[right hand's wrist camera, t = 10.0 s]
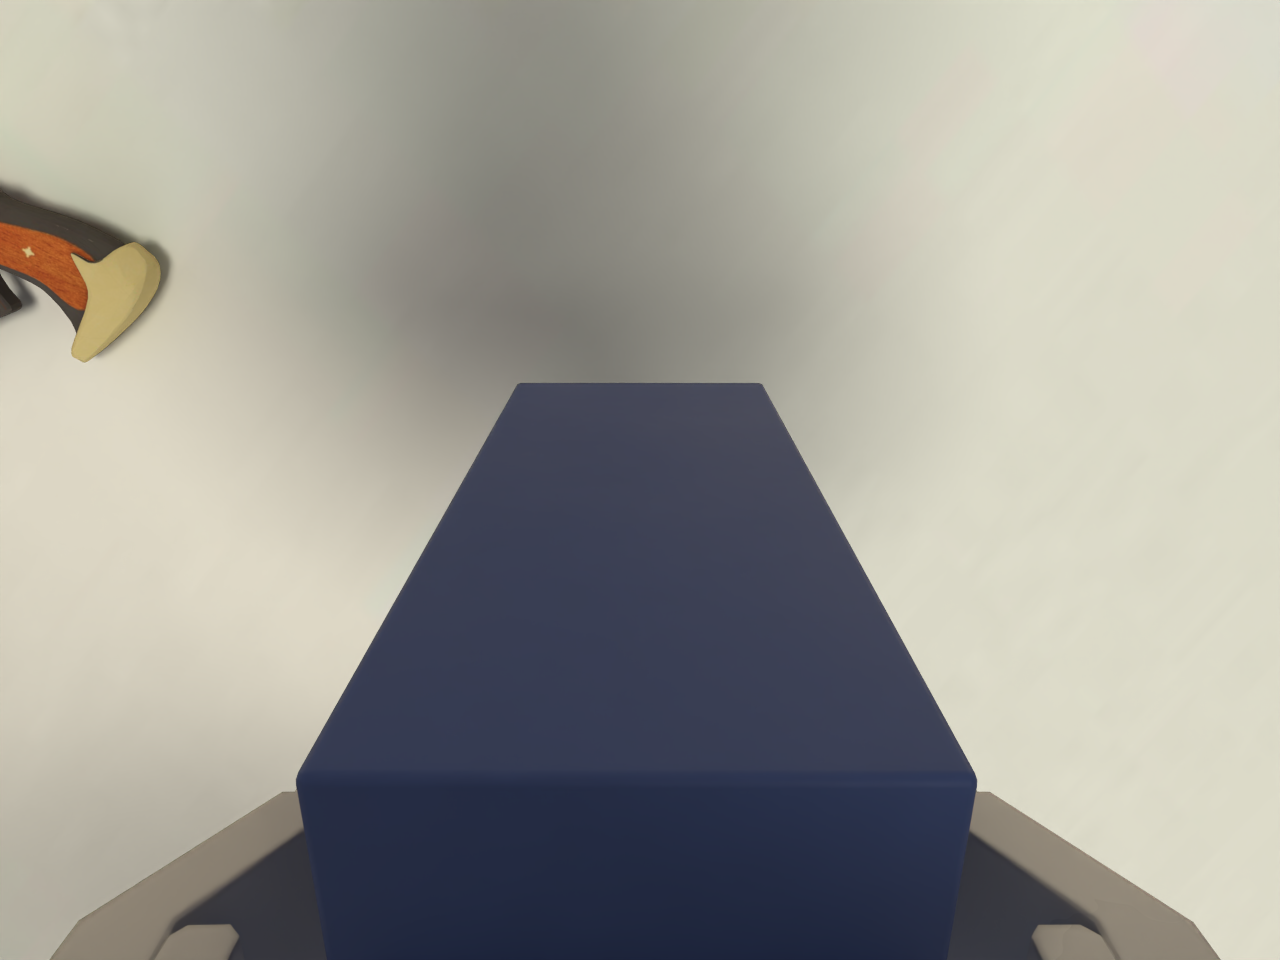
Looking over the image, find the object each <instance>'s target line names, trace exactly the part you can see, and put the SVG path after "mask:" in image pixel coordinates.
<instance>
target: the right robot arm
mask: <svg viewBox="0 0 1280 960" xmlns="http://www.w3.org/2000/svg"><path fill="white" fill-rule="evenodd" d="M50 960H327V957H326V952H325V946H324V940H323V935H322V929H321V923H320V918H319V912H318V906H317V901H316V895H315V889H314V884H313V878H312V872H311V866H310V861H309V855H308V849H307V844H306V838H305V832H304V827H303V821H302V815H301V810H300V804H299V798H298V793H297V789H296V791H295V792H282V793H280V794H278V795H277V796H275V797H274V798H272V799H271V800H269V801H267V802H266V803H264V804H263V805H261V806H259V807H258V808H256V809H255V810H253V811H252V812H250V813H248V814H247V815H245V816H244V817H242V818H240V819H239V820H237V821H236V822H234V823H233V824H231V825H229V826H228V827H226V828H225V829H223V830H222V831H220V832H218V833H217V834H215V835H214V836H212V837H210V838H209V839H207V840H206V841H204V842H203V843H201V844H199V845H198V846H196V847H195V848H193V849H191V850H190V851H188V852H187V853H185V854H184V855H182V856H180V857H179V858H177V859H176V860H174V861H172V862H171V863H169V864H168V865H166V866H165V867H163V868H161V869H160V870H158V871H157V872H155V873H154V874H152V875H150V876H149V877H147V878H146V879H144V880H142V881H141V882H139V883H138V884H136V885H135V886H133V887H131V888H130V889H128V890H127V891H125V892H123V893H122V894H120V895H119V896H117V897H116V898H114V899H112V900H111V901H109V902H108V903H106V904H105V905H103V906H101V907H100V908H98V909H97V910H95V911H93V912H92V913H90V914H89V915H87V916H86V917H84V918H82V919H81V920H79V921H78V922H77V924H76V925H75V926H74V928H73V929H72V930H71V932H70V933H69V935H68V936H67V937H66V939H65V940H64V941H63V943H62V944H61V945H60V947H59V948H58V949H57V951H56V952H55V953H54V955H53V956H52V957H51V959H50ZM947 960H1220V958H1219V957H1218V955H1217V954H1216V953H1215V951H1214V950H1213V949H1212V947H1211V946H1210V944H1209V943H1208V942H1207V940H1206V939H1205V938H1204V936H1203V935H1202V934H1201V932H1200V931H1199V929H1198V928H1197V927H1196V925H1195V924H1194V923H1193V922H1192V921H1191V920H1189V919H1187V918H1186V917H1184V916H1183V915H1181V914H1180V913H1178V912H1176V911H1175V910H1173V909H1172V908H1170V907H1169V906H1167V905H1166V904H1164V903H1162V902H1161V901H1159V900H1158V899H1156V898H1155V897H1153V896H1152V895H1150V894H1148V893H1147V892H1145V891H1144V890H1142V889H1141V888H1139V887H1137V886H1136V885H1134V884H1133V883H1131V882H1130V881H1128V880H1127V879H1125V878H1123V877H1122V876H1120V875H1119V874H1117V873H1116V872H1114V871H1112V870H1111V869H1109V868H1108V867H1106V866H1105V865H1103V864H1102V863H1100V862H1098V861H1097V860H1095V859H1094V858H1092V857H1091V856H1089V855H1087V854H1086V853H1084V852H1083V851H1081V850H1080V849H1078V848H1077V847H1075V846H1073V845H1072V844H1070V843H1069V842H1067V841H1066V840H1064V839H1062V838H1061V837H1059V836H1058V835H1056V834H1055V833H1053V832H1052V831H1050V830H1048V829H1047V828H1045V827H1044V826H1042V825H1041V824H1039V823H1038V822H1036V821H1034V820H1033V819H1031V818H1030V817H1028V816H1027V815H1025V814H1023V813H1022V812H1020V811H1019V810H1017V809H1016V808H1014V807H1013V806H1011V805H1009V804H1008V803H1006V802H1005V801H1003V800H1002V799H1000V798H998V797H997V796H995V795H994V794H992V793H991V792H977V790H976V794H975V800H974V806H973V812H972V817H971V823H970V829H969V835H968V841H967V846H966V852H965V858H964V864H963V869H962V875H961V881H960V887H959V893H958V898H957V904H956V910H955V916H954V922H953V927H952V933H951V939H950V945H949V950H948V956H947Z"/></svg>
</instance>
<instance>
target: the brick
mask: <svg viewBox="0 0 1280 960" xmlns="http://www.w3.org/2000/svg"><path fill="white" fill-rule="evenodd" d="M296 787H297V793H298V798H299V804H300V810H301V815H302V821H303V827H304V832H305V838H306V844H307V849H308V855H309V861H310V866H311V872H312V878H313V884H314V889H315V895H316V901H317V906H318V912H319V918H320V923H321V929H322V935H323V940H324V946H325V952H326V957H327V960H947V956H948V950H949V945H950V939H951V933H952V927H953V922H954V916H955V910H956V904H957V898H958V893H959V887H960V881H961V875H962V869H963V864H964V858H965V852H966V846H967V841H968V835H969V829H970V823H971V817H972V812H973V806H974V800H975V794H976V788H977V778H976V775H975V773H974V771H973V769H972V767H971V765H970V763H969V762H968V760H967V758H966V756H965V754H964V753H963V751H962V749H961V747H960V745H959V743H958V742H957V740H956V738H955V736H954V734H953V732H952V731H951V729H950V727H949V725H948V723H947V721H946V720H945V718H944V716H943V714H942V712H941V710H940V709H939V707H938V705H937V703H936V701H935V700H934V698H933V696H932V694H931V692H930V690H929V689H928V687H927V685H926V683H925V681H924V679H923V678H922V676H921V674H920V672H919V670H918V668H917V667H916V665H915V663H914V661H913V659H912V657H911V656H910V654H909V652H908V650H907V648H906V647H905V645H904V643H903V641H902V639H901V637H900V636H899V634H898V632H897V630H896V628H895V626H894V625H893V623H892V621H891V619H890V617H889V615H888V614H887V612H886V610H885V608H884V606H883V604H882V603H881V601H880V599H879V597H878V595H877V594H876V592H875V590H874V588H873V586H872V584H871V583H870V581H869V579H868V577H867V575H866V573H865V572H864V570H863V568H862V566H861V564H860V562H859V561H858V559H857V557H856V555H855V553H854V551H853V550H852V548H851V546H850V544H849V542H848V541H847V539H846V537H845V535H844V533H843V531H842V530H841V528H840V526H839V524H838V522H837V520H836V519H835V517H834V515H833V513H832V511H831V509H830V508H829V506H828V504H827V502H826V500H825V499H824V497H823V495H822V493H821V491H820V489H819V488H818V486H817V484H816V482H815V480H814V478H813V477H812V475H811V473H810V471H809V469H808V467H807V466H806V464H805V462H804V460H803V458H802V456H801V455H800V453H799V451H798V449H797V447H796V446H795V444H794V442H793V440H792V438H791V436H790V435H789V433H788V431H787V429H786V427H785V425H784V424H783V422H782V420H781V418H780V416H779V414H778V413H777V411H776V409H775V407H774V405H773V403H772V402H771V400H770V398H769V396H768V394H767V393H766V391H765V389H764V387H763V385H762V384H760V383H520V384H517V386H516V388H515V390H514V391H513V393H512V395H511V397H510V399H509V400H508V402H507V404H506V406H505V407H504V409H503V411H502V413H501V415H500V416H499V418H498V420H497V422H496V423H495V425H494V427H493V429H492V430H491V432H490V434H489V436H488V438H487V439H486V441H485V443H484V445H483V446H482V448H481V450H480V452H479V453H478V455H477V457H476V459H475V461H474V462H473V464H472V466H471V468H470V469H469V471H468V473H467V475H466V476H465V478H464V480H463V482H462V484H461V485H460V487H459V489H458V491H457V492H456V494H455V496H454V498H453V499H452V501H451V503H450V505H449V507H448V508H447V510H446V512H445V514H444V515H443V517H442V519H441V521H440V522H439V524H438V526H437V528H436V530H435V531H434V533H433V535H432V537H431V538H430V540H429V542H428V544H427V545H426V547H425V549H424V551H423V553H422V554H421V556H420V558H419V560H418V561H417V563H416V565H415V567H414V568H413V570H412V572H411V574H410V576H409V577H408V579H407V581H406V583H405V584H404V586H403V588H402V590H401V591H400V593H399V595H398V597H397V599H396V600H395V602H394V604H393V606H392V607H391V609H390V611H389V613H388V614H387V616H386V618H385V620H384V622H383V623H382V625H381V627H380V629H379V630H378V632H377V634H376V636H375V637H374V639H373V641H372V643H371V645H370V646H369V648H368V650H367V652H366V653H365V655H364V657H363V659H362V660H361V662H360V664H359V666H358V668H357V669H356V671H355V673H354V675H353V676H352V678H351V680H350V682H349V683H348V685H347V687H346V689H345V691H344V692H343V694H342V696H341V698H340V699H339V701H338V703H337V705H336V707H335V708H334V710H333V712H332V714H331V715H330V717H329V719H328V721H327V722H326V724H325V726H324V728H323V730H322V731H321V733H320V735H319V737H318V738H317V740H316V742H315V744H314V745H313V747H312V749H311V751H310V753H309V754H308V756H307V758H306V760H305V761H304V763H303V765H302V767H301V768H300V770H299V772H298V775H297V778H296Z"/></svg>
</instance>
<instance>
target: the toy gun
mask: <svg viewBox="0 0 1280 960" xmlns="http://www.w3.org/2000/svg"><path fill="white" fill-rule="evenodd" d="M0 269H2V270H5V271H7V272H9V273H12V274H14V275H17V276H19V277H21V278H23V279H25V280H27V281H29V282H31V283H33V284H35V285H36V286H38V287H40V288H41V289H42V290H44V291H45V292H46V293H47V294H48V295H49V296H50V297H51V298H52V299H53V300H54V301H55V302H56V303H57V304H58V305H59V306H60V307H61V309H62V310H63V311H64V313H65V314H66V315H67V317H68V318H69V319H70V320H71V322H72V324H73V326H74V328H75V330H76V337H75V339H74V342H73V345H72V352H71V354H72V356H73V357H74V358H76V359H78V360H80V361H82V362H87V361H89V360H90V359H92V358H93V357H94V356H96V355H97V354H98V353H100V352H101V351H102V350H103V349H104V348H106V347H107V346H108V345H109V344H110V343H112V342H113V341H114V340H115V339H116V338H117V337H118V336H119V335H120V334H121V333H122V332H123V331H124V330H125V329H126V328H127V327H128V326H130V325H131V324H132V323H133V322H134V321H135V320H136V319H137V318H138V316H139V315H140V314H141V313H142V312H143V311H144V309H145V308H146V307H147V305H148V304H149V302H150V301H151V299H152V298H153V296H154V294H155V292H156V291H157V288H158V285H159V281H160V274H161V272H160V266H159V263H158V261H157V260H156V258H155V257H154V256H153V255H152V254H151V253H149V252H148V251H147V250H146V249H145V248H144V247H142V246H141V245H140V244H138V243H136V242H132V243H128V244H126V245H125V244H124V243H123V242H121V241H120V240H118V239H116V238H114V237H112V236H110V235H108V234H106V233H104V232H102V231H100V230H98V229H96V228H94V227H92V226H90V225H88V224H85V223H83V222H81V221H78V220H75V219H73V218H70V217H67V216H64V215H61V214H58V213H55V212H52V211H48V210H45V209H42V208H38V207H35V206H32V205H28V204H25V203H22V202H20V201H17V200H15V199H13V198H11V197H9V196H8V195H7V194H5V193H4V192H2V191H1V190H0ZM21 307H22V304H21V301H20V300H19V299H18V298H17V296H16V295H15V294H14V293H13V292H12V291H11V290H10V288H9V287H8V286H7V284H6V283H5V281H4V280H3V278H2V277H1V274H0V317H3V316H6V315H8V314H10V313H13V312H15V311H17V310H19V309H20V308H21Z"/></svg>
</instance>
